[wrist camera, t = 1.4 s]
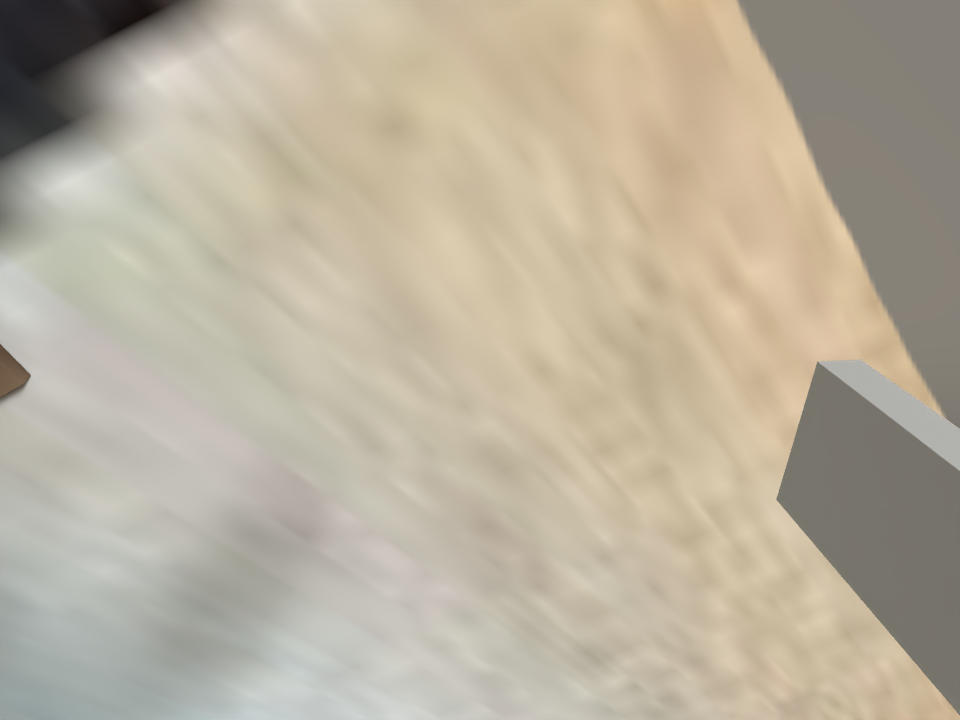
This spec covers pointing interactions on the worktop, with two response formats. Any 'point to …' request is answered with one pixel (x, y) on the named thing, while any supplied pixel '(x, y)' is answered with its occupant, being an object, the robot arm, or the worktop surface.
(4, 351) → the walnut track
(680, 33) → the worktop surface
